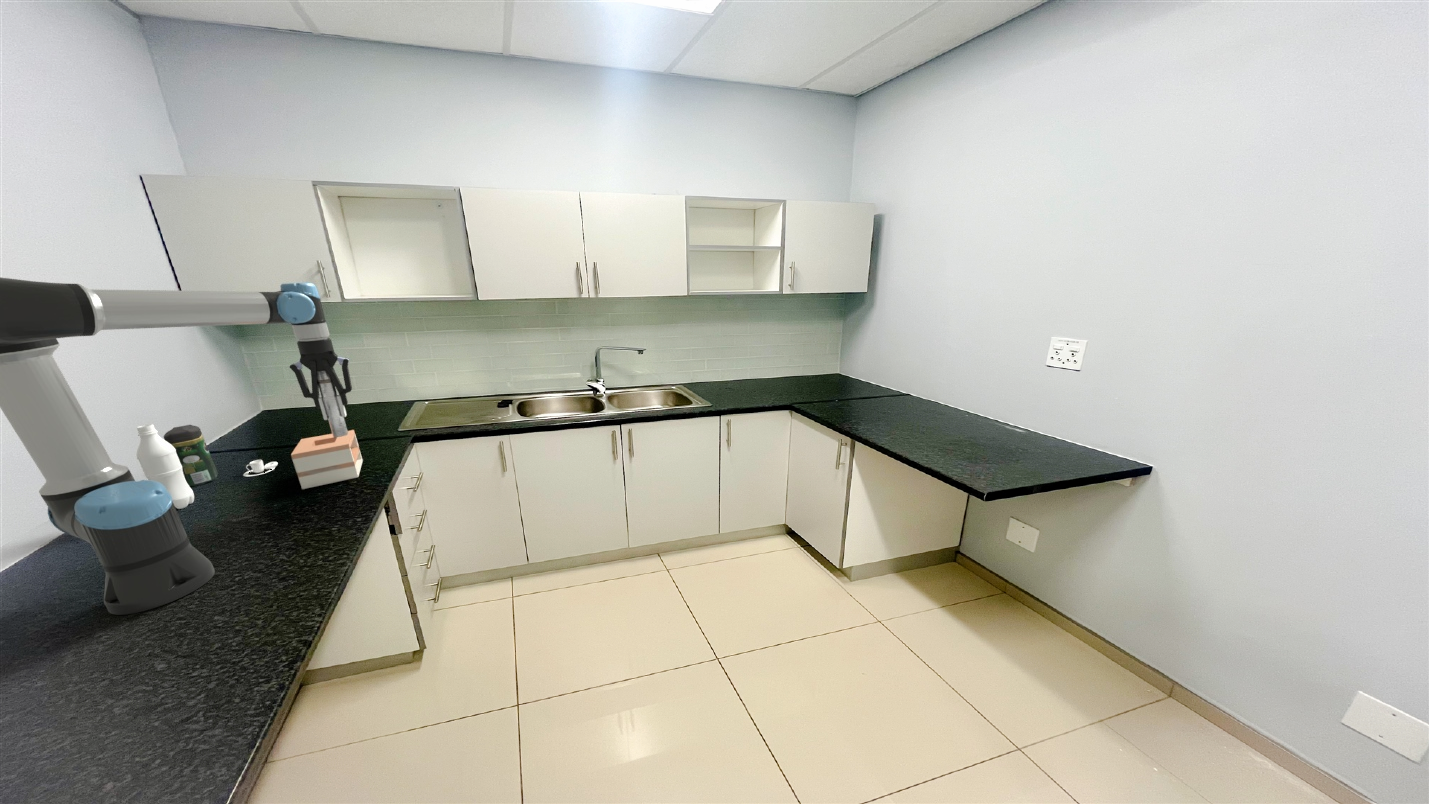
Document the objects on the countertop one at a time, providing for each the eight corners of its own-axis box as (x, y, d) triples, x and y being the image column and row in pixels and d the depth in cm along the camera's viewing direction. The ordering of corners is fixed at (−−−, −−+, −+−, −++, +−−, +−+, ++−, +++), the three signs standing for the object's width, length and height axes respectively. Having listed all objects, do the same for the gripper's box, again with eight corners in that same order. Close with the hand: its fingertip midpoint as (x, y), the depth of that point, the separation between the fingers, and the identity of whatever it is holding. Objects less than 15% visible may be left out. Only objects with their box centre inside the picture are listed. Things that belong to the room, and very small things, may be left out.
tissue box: (358, 477, 150) (348, 444, 146) (302, 489, 143) (290, 454, 139) (362, 460, 163) (354, 429, 159) (311, 471, 156) (301, 439, 152)
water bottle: (204, 500, 138) (172, 421, 131) (175, 513, 131) (139, 430, 124) (182, 500, 139) (149, 421, 131) (153, 512, 132) (116, 430, 125)
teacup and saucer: (279, 464, 163) (275, 454, 162) (277, 471, 157) (274, 460, 156) (245, 472, 158) (241, 461, 157) (242, 480, 152) (237, 468, 151)
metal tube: (347, 435, 139) (329, 370, 133) (332, 438, 137) (313, 372, 132) (349, 432, 142) (331, 368, 136) (333, 434, 140) (315, 370, 135)
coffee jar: (185, 480, 152) (163, 427, 147) (219, 472, 158) (199, 421, 152) (181, 490, 146) (158, 434, 140) (217, 481, 151) (196, 427, 145)
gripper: (351, 334, 139) (370, 409, 145) (278, 340, 130) (302, 419, 137) (348, 337, 132) (368, 415, 139) (271, 343, 124) (296, 426, 131)
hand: (335, 417), depth 138 cm, fingers closed on metal tube, 3 cm apart
